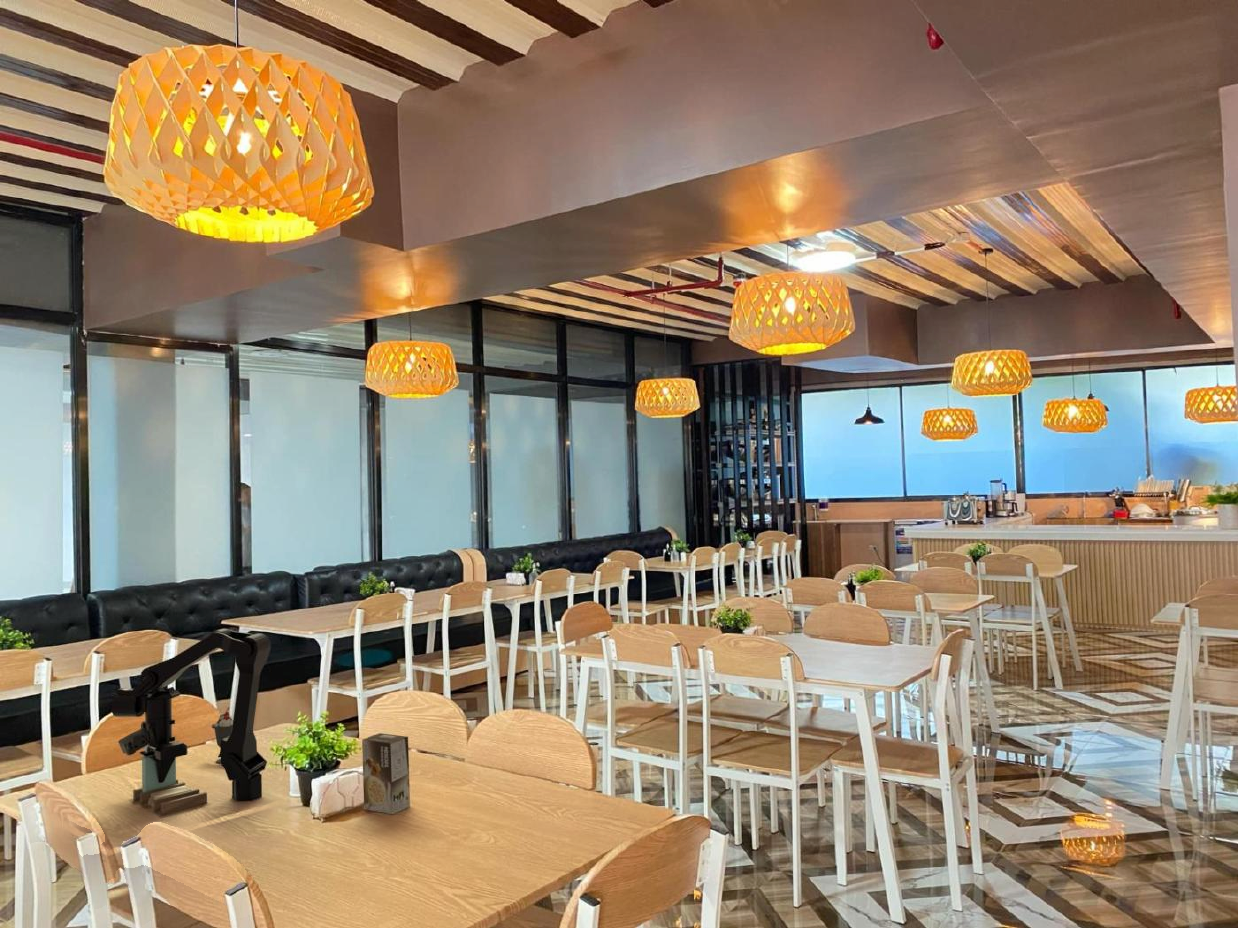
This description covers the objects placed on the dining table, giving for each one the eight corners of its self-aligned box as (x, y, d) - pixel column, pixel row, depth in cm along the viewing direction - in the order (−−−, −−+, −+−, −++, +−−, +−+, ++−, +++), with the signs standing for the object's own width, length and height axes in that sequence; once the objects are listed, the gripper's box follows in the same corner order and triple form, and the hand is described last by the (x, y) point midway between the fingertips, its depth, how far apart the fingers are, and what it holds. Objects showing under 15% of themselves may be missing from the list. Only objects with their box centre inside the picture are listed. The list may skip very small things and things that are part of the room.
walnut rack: (212, 808, 209) (211, 793, 209) (163, 822, 201) (162, 806, 201) (176, 791, 222) (175, 777, 222) (128, 803, 214) (128, 789, 214)
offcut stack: (192, 799, 213) (192, 788, 213) (156, 808, 207) (156, 798, 207) (183, 794, 216) (183, 784, 216) (147, 804, 210) (147, 793, 210)
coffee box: (411, 805, 206) (410, 736, 207) (392, 815, 201) (391, 743, 201) (381, 800, 211) (380, 732, 211) (362, 809, 205) (360, 739, 206)
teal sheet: (176, 793, 217) (175, 751, 218) (145, 801, 212) (145, 758, 212) (172, 791, 219) (172, 750, 219) (142, 799, 213) (141, 757, 214)
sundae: (231, 764, 245) (231, 708, 245) (207, 764, 245) (207, 709, 245) (242, 756, 251) (241, 703, 252) (219, 757, 251) (218, 703, 252)
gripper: (108, 717, 216) (108, 782, 216) (138, 729, 204) (139, 798, 203) (156, 708, 225) (157, 771, 224) (188, 719, 212) (188, 785, 212)
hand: (159, 781), depth 216 cm, fingers closed on teal sheet, 2 cm apart
